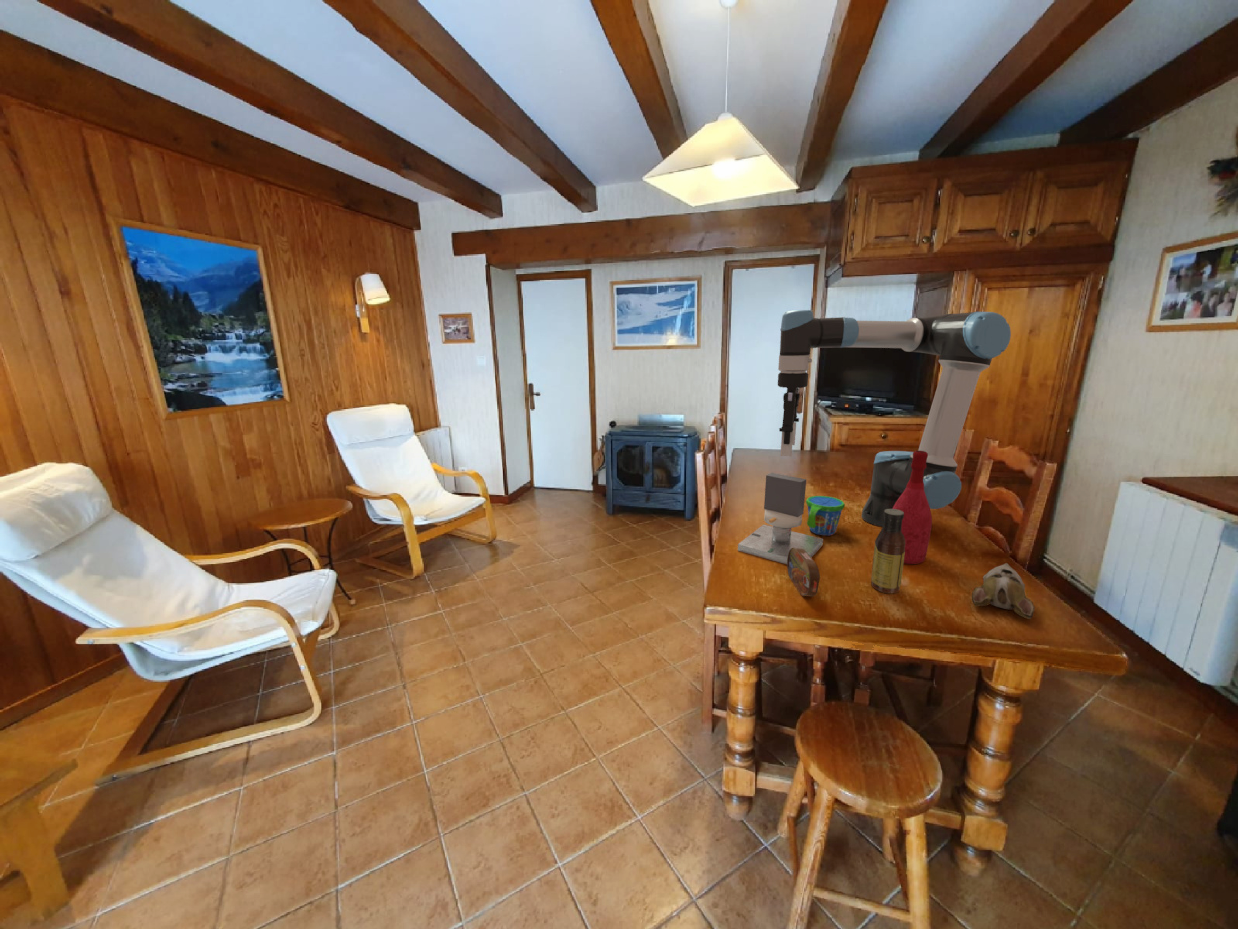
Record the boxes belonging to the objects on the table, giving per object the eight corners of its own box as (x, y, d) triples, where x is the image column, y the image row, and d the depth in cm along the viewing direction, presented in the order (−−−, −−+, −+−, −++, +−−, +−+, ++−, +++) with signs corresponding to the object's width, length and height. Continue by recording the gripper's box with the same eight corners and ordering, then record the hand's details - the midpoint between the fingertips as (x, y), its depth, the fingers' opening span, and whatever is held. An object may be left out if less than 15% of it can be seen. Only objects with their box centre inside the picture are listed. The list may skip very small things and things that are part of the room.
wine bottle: (890, 546, 134) (904, 445, 126) (930, 557, 127) (948, 450, 119) (878, 558, 127) (893, 451, 119) (920, 569, 120) (938, 457, 113)
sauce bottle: (883, 579, 116) (894, 504, 111) (906, 592, 110) (918, 513, 105) (863, 584, 114) (873, 508, 109) (884, 597, 108) (896, 517, 103)
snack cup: (822, 520, 153) (825, 491, 151) (852, 531, 145) (856, 500, 142) (791, 532, 145) (794, 501, 142) (822, 543, 137) (825, 511, 134)
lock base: (822, 545, 136) (825, 519, 134) (801, 568, 122) (804, 540, 120) (763, 530, 147) (764, 506, 145) (737, 550, 133) (739, 524, 131)
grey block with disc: (774, 512, 139) (777, 470, 136) (807, 520, 132) (811, 476, 129) (753, 524, 131) (756, 479, 127) (787, 533, 124) (791, 487, 120)
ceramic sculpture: (1038, 563, 104) (1040, 595, 94) (1030, 596, 107) (1031, 631, 96) (979, 551, 111) (974, 579, 100) (973, 582, 114) (968, 614, 103)
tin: (785, 571, 121) (787, 541, 119) (797, 571, 121) (800, 541, 119) (805, 603, 107) (809, 570, 104) (819, 603, 106) (823, 570, 104)
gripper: (806, 375, 110) (800, 462, 116) (810, 368, 133) (804, 441, 138) (773, 375, 113) (768, 459, 119) (782, 368, 135) (777, 439, 141)
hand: (787, 450), depth 129 cm, fingers open, 13 cm apart
